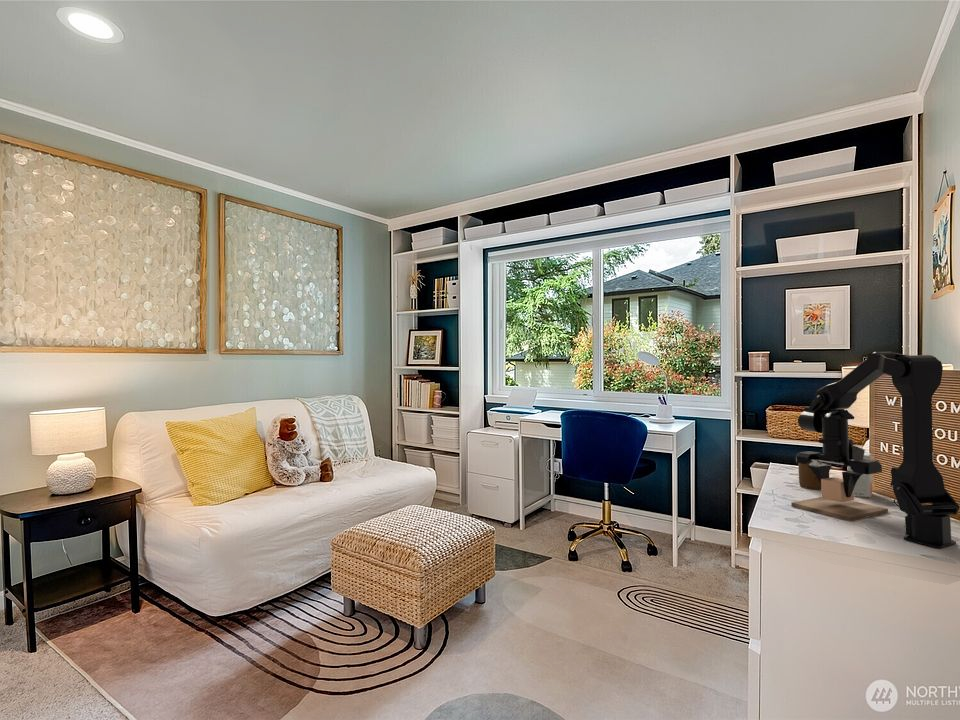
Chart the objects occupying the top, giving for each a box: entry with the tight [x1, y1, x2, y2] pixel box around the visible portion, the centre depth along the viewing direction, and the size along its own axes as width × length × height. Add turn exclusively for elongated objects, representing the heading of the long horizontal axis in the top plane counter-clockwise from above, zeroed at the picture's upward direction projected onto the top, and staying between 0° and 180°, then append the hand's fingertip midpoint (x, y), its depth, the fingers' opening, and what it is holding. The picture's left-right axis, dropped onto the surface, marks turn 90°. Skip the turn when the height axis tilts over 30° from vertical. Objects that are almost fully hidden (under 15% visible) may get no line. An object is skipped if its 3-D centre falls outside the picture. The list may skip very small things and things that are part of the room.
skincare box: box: [851, 451, 873, 498], centre depth 147 cm, size 6×4×12 cm
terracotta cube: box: [821, 476, 855, 502], centre depth 134 cm, size 5×5×5 cm
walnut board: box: [790, 496, 889, 522], centre depth 134 cm, size 15×15×1 cm
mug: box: [797, 463, 829, 491], centre depth 155 cm, size 12×8×9 cm, turn 160°
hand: (837, 494), depth 134 cm, fingers closed on terracotta cube, 5 cm apart
